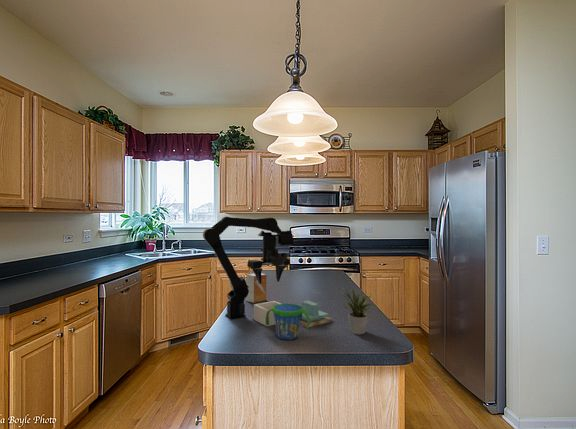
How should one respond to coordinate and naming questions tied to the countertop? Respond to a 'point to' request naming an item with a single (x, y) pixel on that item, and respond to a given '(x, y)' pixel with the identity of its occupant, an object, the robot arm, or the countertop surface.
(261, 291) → the small box
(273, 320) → the storage box
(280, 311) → the snack cup
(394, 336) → the countertop surface
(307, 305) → the lid
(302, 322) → the wooden board
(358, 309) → the house plant
